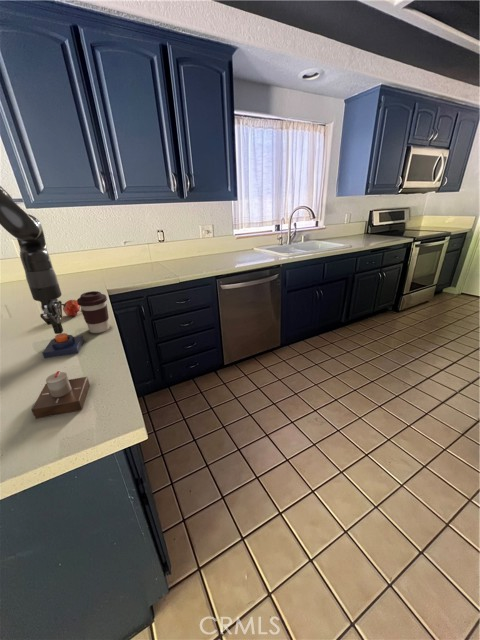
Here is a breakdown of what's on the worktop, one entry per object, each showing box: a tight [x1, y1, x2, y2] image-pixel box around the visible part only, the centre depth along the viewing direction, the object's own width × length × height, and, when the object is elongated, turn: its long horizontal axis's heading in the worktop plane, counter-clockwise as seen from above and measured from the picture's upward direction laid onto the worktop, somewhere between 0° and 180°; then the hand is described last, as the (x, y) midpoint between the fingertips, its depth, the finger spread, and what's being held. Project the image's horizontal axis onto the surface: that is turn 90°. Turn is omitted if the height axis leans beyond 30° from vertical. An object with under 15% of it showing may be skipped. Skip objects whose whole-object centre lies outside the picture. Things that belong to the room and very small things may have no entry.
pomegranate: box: [62, 299, 82, 318], centre depth 117 cm, size 7×7×10 cm
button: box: [54, 332, 68, 342], centre depth 90 cm, size 4×4×2 cm
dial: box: [45, 370, 71, 397], centre depth 66 cm, size 4×4×5 cm
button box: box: [42, 334, 85, 359], centre depth 91 cm, size 10×9×4 cm
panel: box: [31, 376, 91, 420], centre depth 68 cm, size 10×10×3 cm
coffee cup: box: [76, 290, 110, 334], centre depth 102 cm, size 10×10×15 cm
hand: (59, 332), depth 89 cm, fingers closed
